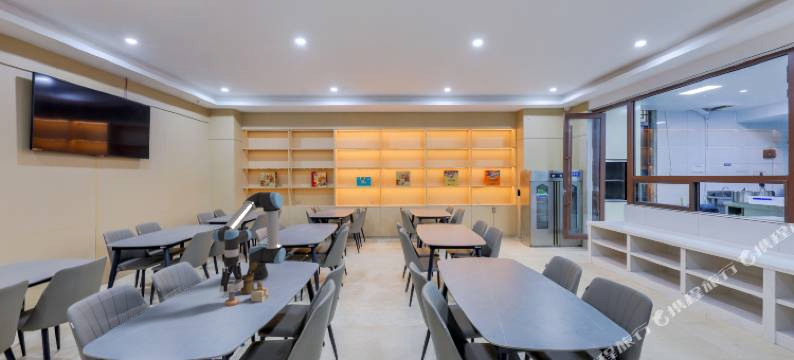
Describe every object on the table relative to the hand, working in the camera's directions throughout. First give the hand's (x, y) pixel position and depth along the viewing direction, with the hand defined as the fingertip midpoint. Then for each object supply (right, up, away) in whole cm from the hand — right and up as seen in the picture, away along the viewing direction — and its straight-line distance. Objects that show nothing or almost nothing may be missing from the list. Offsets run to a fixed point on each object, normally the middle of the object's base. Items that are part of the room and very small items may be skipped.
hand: (231, 293), depth 182 cm
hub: (0, -6, 0) cm, 6 cm away
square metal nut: (0, +3, 0) cm, 3 cm away
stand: (+14, -6, +7) cm, 17 cm away
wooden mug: (+1, -6, +20) cm, 21 cm away
